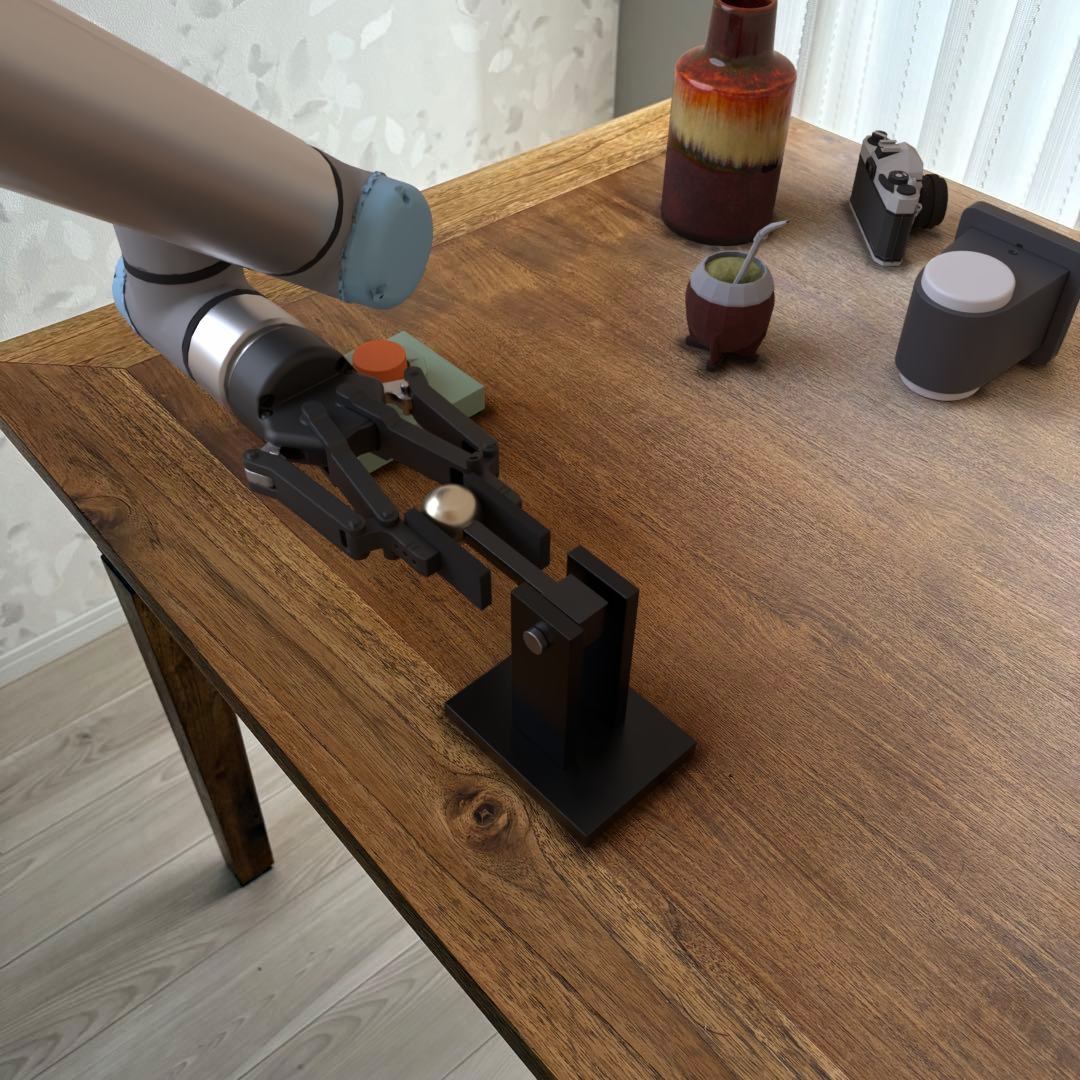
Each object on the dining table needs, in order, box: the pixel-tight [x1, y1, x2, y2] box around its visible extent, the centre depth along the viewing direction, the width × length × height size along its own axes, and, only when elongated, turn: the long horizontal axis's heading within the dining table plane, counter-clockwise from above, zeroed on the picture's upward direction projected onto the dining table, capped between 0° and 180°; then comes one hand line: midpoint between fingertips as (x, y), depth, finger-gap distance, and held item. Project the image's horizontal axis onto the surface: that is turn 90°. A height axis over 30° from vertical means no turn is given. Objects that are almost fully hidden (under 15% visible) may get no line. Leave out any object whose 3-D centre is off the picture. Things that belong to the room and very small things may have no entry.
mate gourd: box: [684, 219, 792, 373], centre depth 87 cm, size 8×8×15 cm
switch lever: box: [419, 484, 609, 649], centre depth 61 cm, size 13×4×4 cm, turn 43°
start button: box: [352, 339, 407, 383], centre depth 83 cm, size 4×4×2 cm
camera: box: [848, 129, 949, 267], centre depth 104 cm, size 13×8×9 cm, turn 4°
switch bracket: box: [443, 544, 698, 849], centre depth 61 cm, size 12×9×13 cm
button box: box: [342, 330, 486, 474], centre depth 85 cm, size 12×10×4 cm
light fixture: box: [894, 200, 1080, 402], centre depth 88 cm, size 11×13×11 cm
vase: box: [660, 0, 798, 246], centre depth 101 cm, size 11×11×20 cm
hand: (515, 570), depth 60 cm, fingers closed on switch lever, 4 cm apart
